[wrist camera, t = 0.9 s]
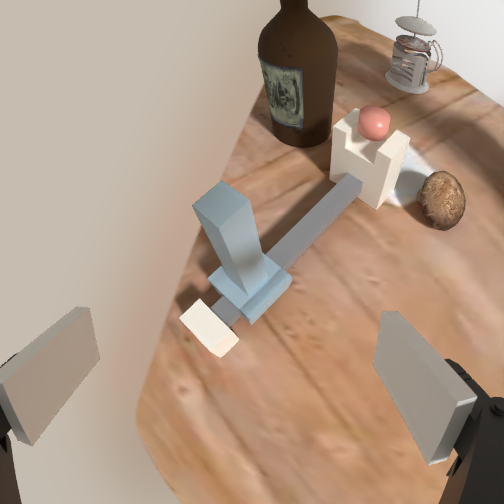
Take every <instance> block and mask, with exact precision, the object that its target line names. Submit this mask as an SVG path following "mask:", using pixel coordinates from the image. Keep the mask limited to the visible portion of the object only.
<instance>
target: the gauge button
mask: <svg viewBox="0 0 504 504" xmlns="http://www.w3.org/2000/svg"><path fill="white" fill-rule="evenodd" d="M390 119H391V118H390V115H389V113H388V112H387V111H385V110H384V109H382V108H380V107H377V106H365V107H363V108H362V109H361V110H360V113H359V121H358V133H359V134H360V135H361V136H362V137H363V138H365V139H367V140H370V141H376V142H377V141H382V140H384V139H385V138H386V137H387V133H388V129H389V124H390Z"/></svg>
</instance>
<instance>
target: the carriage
mask: <svg viewBox="0 0 504 504" xmlns="http://www.w3.org/2000/svg"><path fill="white" fill-rule="evenodd" d="M192 207H193V209H194V210H195V212H196V215H197V217H198V218H199V220H200V222H201V224H202V226H203V228H204V230H205V232H206V234H207V236H208V238H209V240H210V242H211V244H212V246H213V248H214V250H215V252H216V254H217V256H218V258H219V260H220V261H221V263H222V265H221V266H220V267H219V268H218V269H217V270H216V271H215V272H214V273H213V274H212V275H210V276H209V277H208V278H207V279H208V281H209V282H210V283H211V284H212V285H213V287H214V288H215V289H216V291H217V292H218V294H219V295H220V296H221V297H222V296H224V297H225V298H226V299H227V300H228V301H229V302H230V303H231V304H233V305H234V306H235V307H236V308H237V309H238V310H239V311H240V312H241V313H242V315H243V316H244V318H245V319H246V320H247V321H248V322H249V323H250V324H251V325H252V324H253V323H254V322H255V321H256V320H257V319H258V318H259V317H260V316H261V315H262V314H263V313H264V312H265V311H266V310H267V309H268V308H269V307H270V306H271V305H272V304H273V303H274V302H275V301H276V300H277V299H278V298H279V297H280V296H281V295H282V294H283V293H284V292H285V290H286V289H287V288H288V287H289V284H290V283H291V282H292V276H291V275H289V274H288V273H287V272H286V271H284V270H283V269H282V268H281V267H280V266H278V265H277V264H276V263H275V262H273V261H272V260H271V259H270V258H269V257H267V256H266V255H265V254H264V253H262V249H261V245H260V241H259V237H258V233H257V229H256V225H255V220H254V216H253V212H252V208H251V204H250V200H249V199H247V198H246V197H245V196H243V195H242V194H240V193H239V192H238V191H236V190H235V189H233V188H232V187H231V186H229V185H228V184H226V183H225V182H224V181H222V180H221V181H220V182H219V183H218V184H217V185H215V186H214V187H213V188H212V189H211V190H209V191H208V192H207V193H206V194H205V195H204V196H202V197H201V198H200V199H199V200H198V201H197V202H195V204H193V205H192Z"/></svg>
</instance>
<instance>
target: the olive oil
mask: <svg viewBox="0 0 504 504" xmlns="http://www.w3.org/2000/svg"><path fill="white" fill-rule="evenodd" d="M280 4H281V10H280V11H279V12H278V13H277V14H276V15H275V17H274V18H273V19H272V20H271V21H270V22H269V23H268V24H267V25H266V26H265V27H264V29H263V30H262V32H261V34H260V37H259V42H258V53H259V55H258V58H259V60H260V64H261V68H262V73H263V77H264V82H265V87H266V92H267V97H268V102H269V107H270V113H271V118H272V124H273V130H274V133H275V135H276V137H277V138H278V139H279V140H281V141H282V142H284V143H286V144H288V145H291V146H296V147H310V146H314V145H317V144H320V143H321V142H323V141H324V140H326V139H327V138H328V136H329V134H330V132H331V123H332V111H333V100H334V89H335V78H336V67H337V56H338V47H337V42H336V39H335V36H334V34H333V32H332V31H331V29H330V28H329V27H328V26H327V25H326V24H325V23H324V22H323V21H322V20H320V19H319V18H318V17H317V16H316V15H315V14H313V13H312V12H311V11H310V10H309V9H308V0H280Z"/></svg>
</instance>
